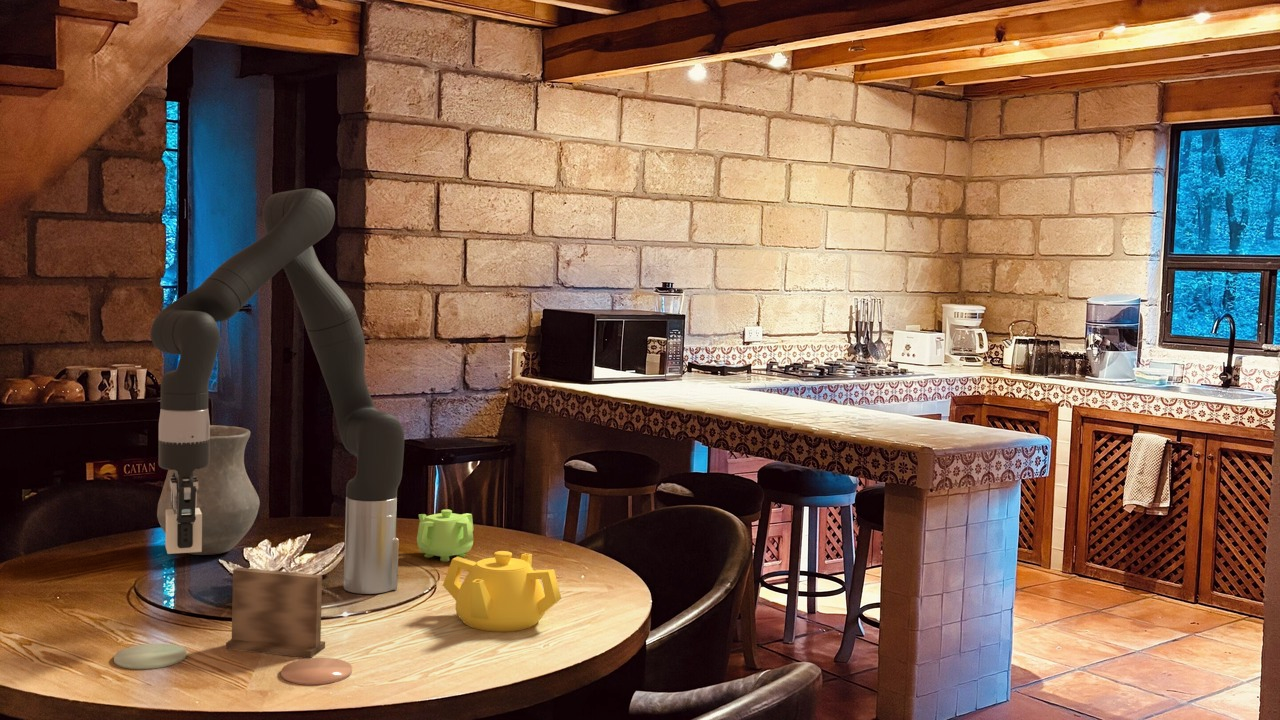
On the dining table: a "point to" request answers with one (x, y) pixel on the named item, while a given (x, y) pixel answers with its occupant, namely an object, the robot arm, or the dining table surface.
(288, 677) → the terracotta coaster
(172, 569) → the dining table surface
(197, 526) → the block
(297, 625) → the occluder board
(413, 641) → the dining table surface
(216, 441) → the vase
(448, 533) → the teapot
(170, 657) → the sage coaster
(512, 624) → the teapot
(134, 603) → the dining table surface
